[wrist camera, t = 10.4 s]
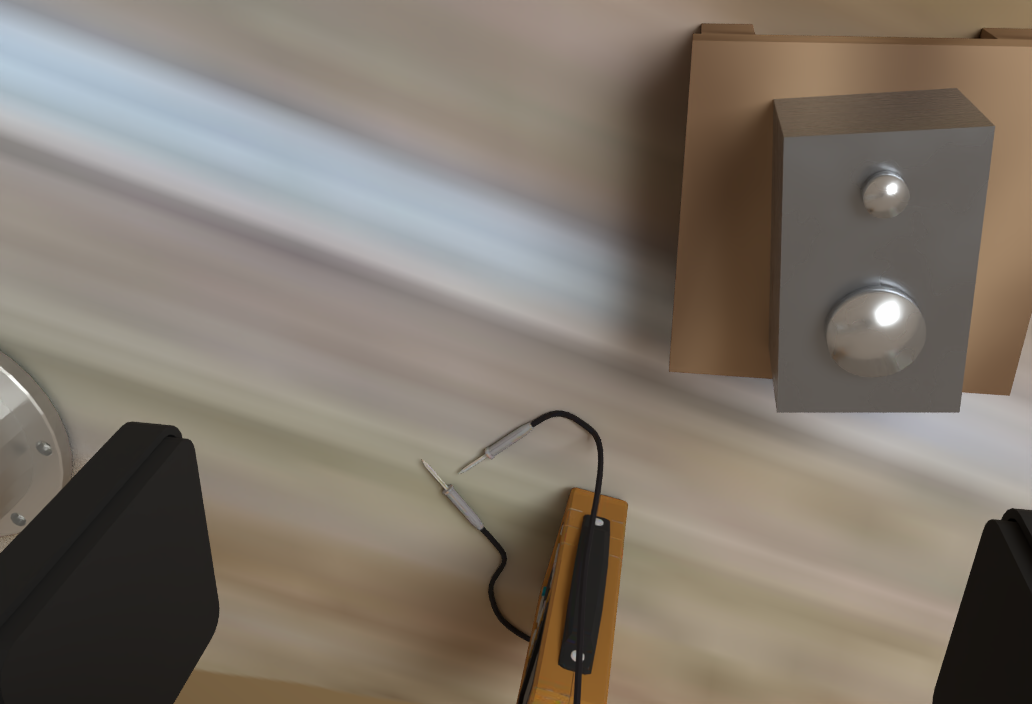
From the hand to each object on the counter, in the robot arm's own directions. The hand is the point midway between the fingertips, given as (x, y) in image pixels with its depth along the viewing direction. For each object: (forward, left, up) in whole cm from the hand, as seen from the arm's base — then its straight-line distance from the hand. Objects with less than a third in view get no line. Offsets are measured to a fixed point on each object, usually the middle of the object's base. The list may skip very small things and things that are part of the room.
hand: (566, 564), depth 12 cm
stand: (+7, -4, -28) cm, 29 cm away
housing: (+7, -4, -23) cm, 25 cm away
